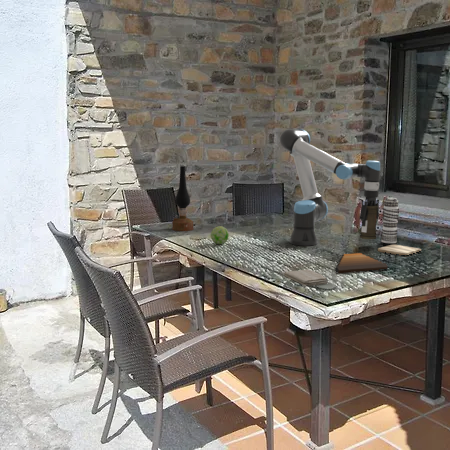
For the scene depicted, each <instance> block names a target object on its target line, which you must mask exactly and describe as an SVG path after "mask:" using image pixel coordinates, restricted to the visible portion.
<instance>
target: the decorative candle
mask: <svg viewBox="0 0 450 450" xmlns="http://www.w3.org/2000/svg"><path fill="white" fill-rule="evenodd" d="M383 201H384V202H383V204H384V205H383V207H382V216H383V217H382V222H383V223H382V229H381V231H382V232H381V234H382V235H381V238H380V241H381V243H385V244H396V243H397V240H398V239H397V238H398V236H397V235H398V233H397V232H398V225H397V224H398V222H399V221H398V220H399V213H400V211H399V210H400V208H399V202H400V201H399V200H398V199H397V198H396V197H386V198H385V199H384V200H383Z"/></svg>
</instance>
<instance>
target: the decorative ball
mask: <svg viewBox="0 0 450 450" xmlns="http://www.w3.org/2000/svg"><path fill="white" fill-rule="evenodd" d="M229 237H230V234H229V231H228V229H227V228H226V227H224V226H220V225H219V226H216V227H214V228H213V229H212V230H211V232H210V239H211V241H212V242H213V243H214V244H217V245H223V244H226V243H227V242H228V240H229Z"/></svg>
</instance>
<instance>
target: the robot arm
mask: <svg viewBox="0 0 450 450" xmlns="http://www.w3.org/2000/svg"><path fill="white" fill-rule="evenodd" d="M279 144H280V146H281V147H282V148H283V149H284V150H285V151H287V152H289V156H291V157H293V161H294V165H295V168H296V172H297V176H298V180H299V184H300V188H301V193H302V195H303V198H302V199H301V200H299V201H296V202H295V203H294V206H293V229H292V232H291V236H290V238H289V243H290V244H291V245H296V246H306V247H307V246H309V247H310V246H315V245H318V238H317V235H316V230H315V227H316V226H315V225H316V222H319V221H322V220H323V219H325V218H326V217H327V215H328V213H329V212H328V211H329V206H328V204H327V202H325V201H324V200H323V195H321V194H320V193H319V192H318V188H317V187H318V186H317V183H316V180H315V179H316V178H315V175H314V172H313V168H312V163H314V164H316V165H318V166H319V167H322V168H323V169H325V170H327V171H329V172H330V173H333V174H335V175H336V176H337V178H338V179H340V180H349V179H354V178H358V179H359V178H360V179H364V190H363V197H365V199H364V200H362V201H361V207H360V208H361V209H360V214H359V220H360V221H361V226H362V231H361V230H360V233H361V232H365V233H366V232H367V216H368V210H366V209H367V206H375V205H377V206H378V208H377V209H378V210H377V219H379V217H380V206H379V204H380V199H377V198H378V197H379V189H380V179H381V178H380V177H381V161H378V160H366V162H365V163H355V162H346V163H345V162H344V161H342V160H340V159H338V158H336V157H335V156H332V155H331V154H329V153H327V152H326V151H323V150H321V149H320V148H317V147H316V146H314V145H312V144H311V136H310V134H309V132H307V131H306V130H305V129H303V128H302V129H301V128H288V129H285V130H283V131H282V132H281V134H280V135H279ZM311 162H312V163H311Z"/></svg>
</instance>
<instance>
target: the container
mask: <svg viewBox="0 0 450 450" xmlns="http://www.w3.org/2000/svg"><path fill="white" fill-rule="evenodd" d="M377 208H378V206H377V205H375V206H367V209H366V210H368V216H367V232H366V233H365V232H361V231H362V225H361V229H360V232H359V233H360V235H359V238H360V239H362V240H369V241H370V240H376V239H377V221H378V220H377V210H378V209H377Z"/></svg>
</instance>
